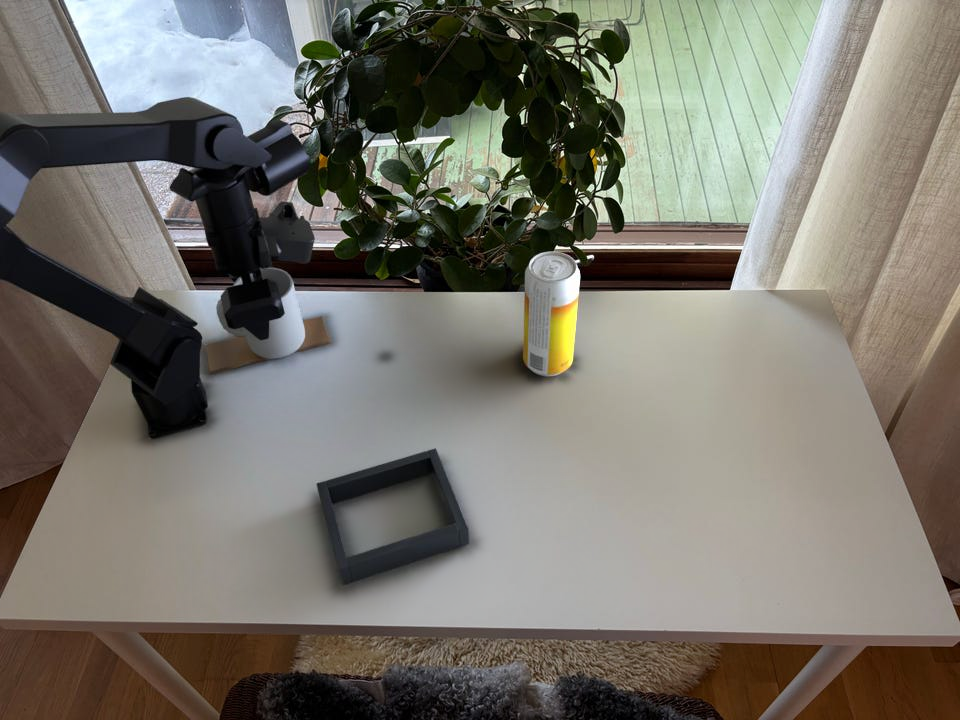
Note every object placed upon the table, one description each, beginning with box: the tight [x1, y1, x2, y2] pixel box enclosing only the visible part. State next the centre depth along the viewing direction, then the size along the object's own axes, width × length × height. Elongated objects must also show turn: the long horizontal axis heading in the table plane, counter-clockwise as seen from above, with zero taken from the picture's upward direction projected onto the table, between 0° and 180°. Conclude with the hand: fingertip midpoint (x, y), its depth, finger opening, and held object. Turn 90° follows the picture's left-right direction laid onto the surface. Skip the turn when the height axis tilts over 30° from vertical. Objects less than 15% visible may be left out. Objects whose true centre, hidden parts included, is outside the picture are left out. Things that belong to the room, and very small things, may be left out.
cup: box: [215, 267, 305, 360], centre depth 97 cm, size 7×10×9 cm
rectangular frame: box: [316, 448, 470, 586], centre depth 80 cm, size 13×11×3 cm
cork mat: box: [205, 315, 331, 375], centre depth 100 cm, size 15×5×1 cm, turn 110°
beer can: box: [522, 251, 581, 377], centre depth 92 cm, size 6×6×15 cm
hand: (259, 319), depth 97 cm, fingers closed on cup, 7 cm apart
